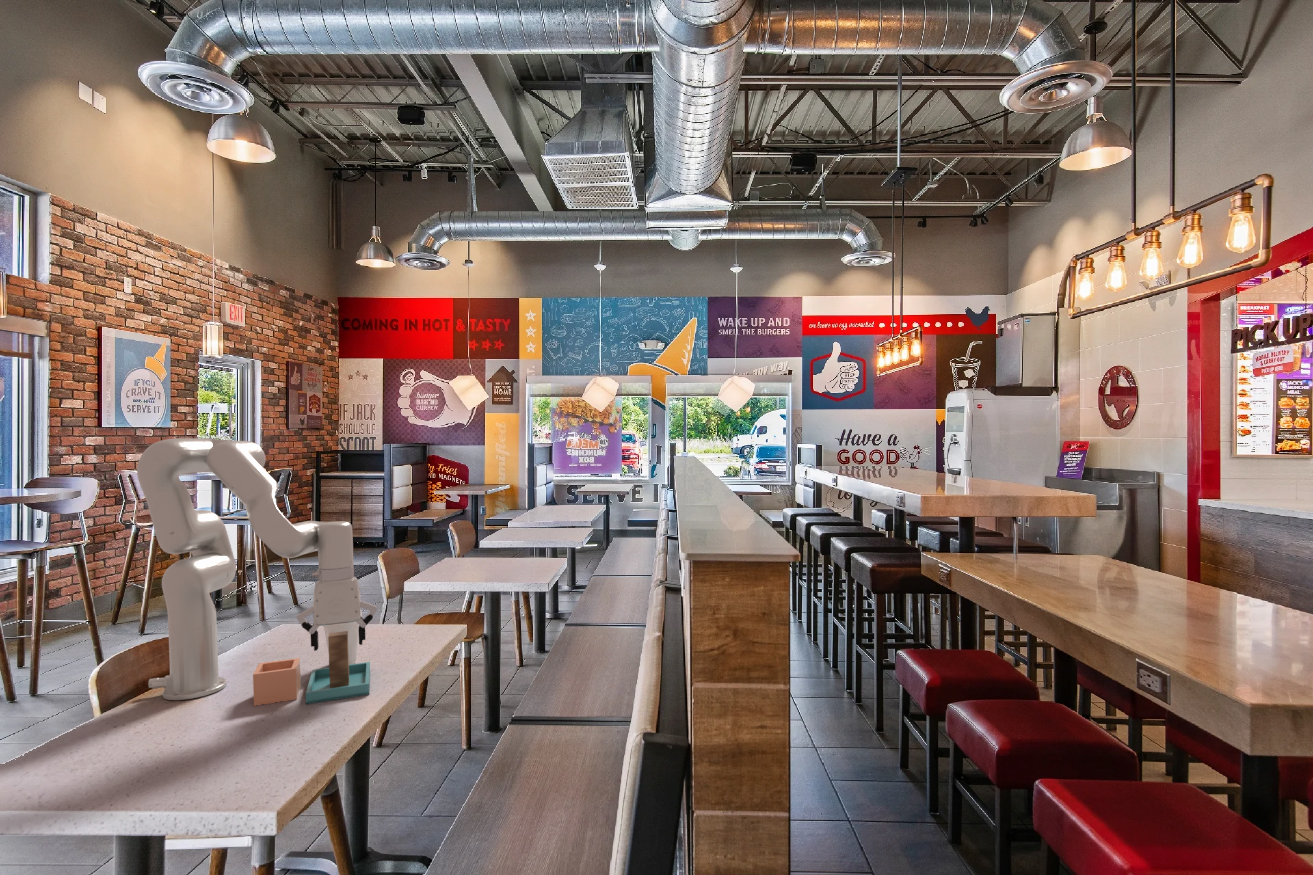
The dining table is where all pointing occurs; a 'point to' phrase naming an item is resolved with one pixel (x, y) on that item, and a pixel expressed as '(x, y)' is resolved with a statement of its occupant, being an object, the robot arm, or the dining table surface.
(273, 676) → the holder cup
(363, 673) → the tray
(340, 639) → the walnut stick
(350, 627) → the foam cup
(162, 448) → the robot arm
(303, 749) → the dining table surface
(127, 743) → the dining table surface
